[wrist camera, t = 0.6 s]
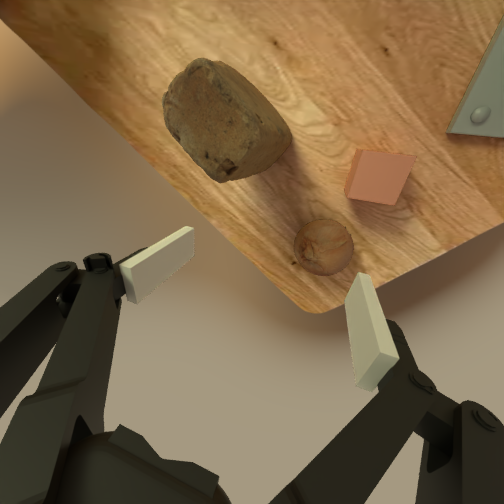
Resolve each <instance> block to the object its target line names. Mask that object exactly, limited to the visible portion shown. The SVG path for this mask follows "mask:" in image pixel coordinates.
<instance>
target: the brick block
mask: <svg viewBox="0 0 504 504" xmlns="http://www.w3.org/2000/svg"><path fill="white" fill-rule="evenodd" d="M416 158H417V156H412V155H404V154H396V153H387V152H379V151H370V150H361V149H357V150H356V153H355V156H354V159H353V162H352V166H351V169H350V172H349V175H348V178H347V181H346V184H345V188H344V191H345V194H346V196H347V198H352V199H358V200H364V201H370V202H376V203H382V204H388V205H394V206H395V204H396V201H397V199H398V197H399V195H400V193H401V190H402V188H403V186H404V184H405V182H406V179H407V177H408V175H409V173H410V171H411V169H412V166H413V164H414V162H415V160H416Z"/></svg>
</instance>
